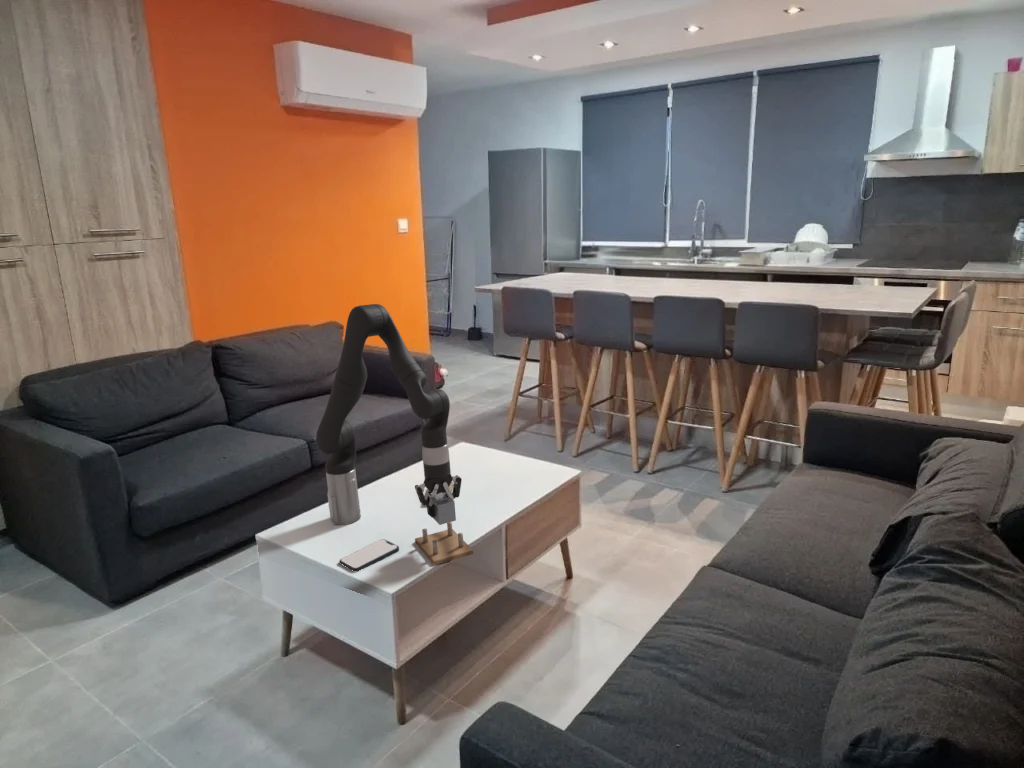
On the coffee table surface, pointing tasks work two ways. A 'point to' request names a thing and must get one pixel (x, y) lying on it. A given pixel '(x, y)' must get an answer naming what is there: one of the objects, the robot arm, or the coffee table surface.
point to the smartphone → (369, 555)
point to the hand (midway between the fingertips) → (441, 513)
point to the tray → (443, 545)
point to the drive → (443, 509)
